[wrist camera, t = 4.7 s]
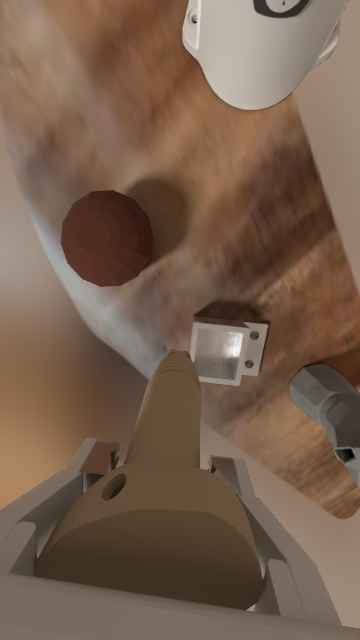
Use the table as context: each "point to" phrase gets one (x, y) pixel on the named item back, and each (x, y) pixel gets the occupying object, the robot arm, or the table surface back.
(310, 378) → the coffeepot
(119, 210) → the muffin
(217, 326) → the flanged open box
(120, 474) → the handle
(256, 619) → the robot arm
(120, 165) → the table surface
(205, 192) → the table surface
